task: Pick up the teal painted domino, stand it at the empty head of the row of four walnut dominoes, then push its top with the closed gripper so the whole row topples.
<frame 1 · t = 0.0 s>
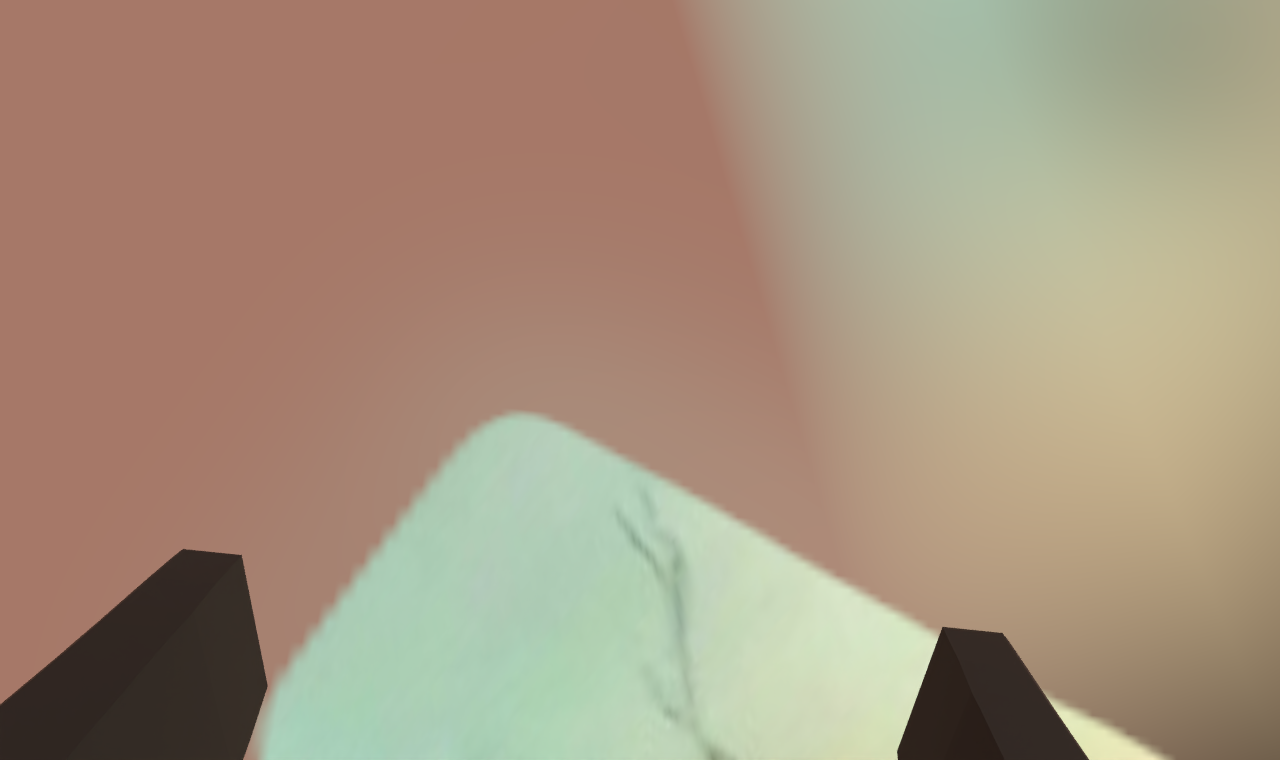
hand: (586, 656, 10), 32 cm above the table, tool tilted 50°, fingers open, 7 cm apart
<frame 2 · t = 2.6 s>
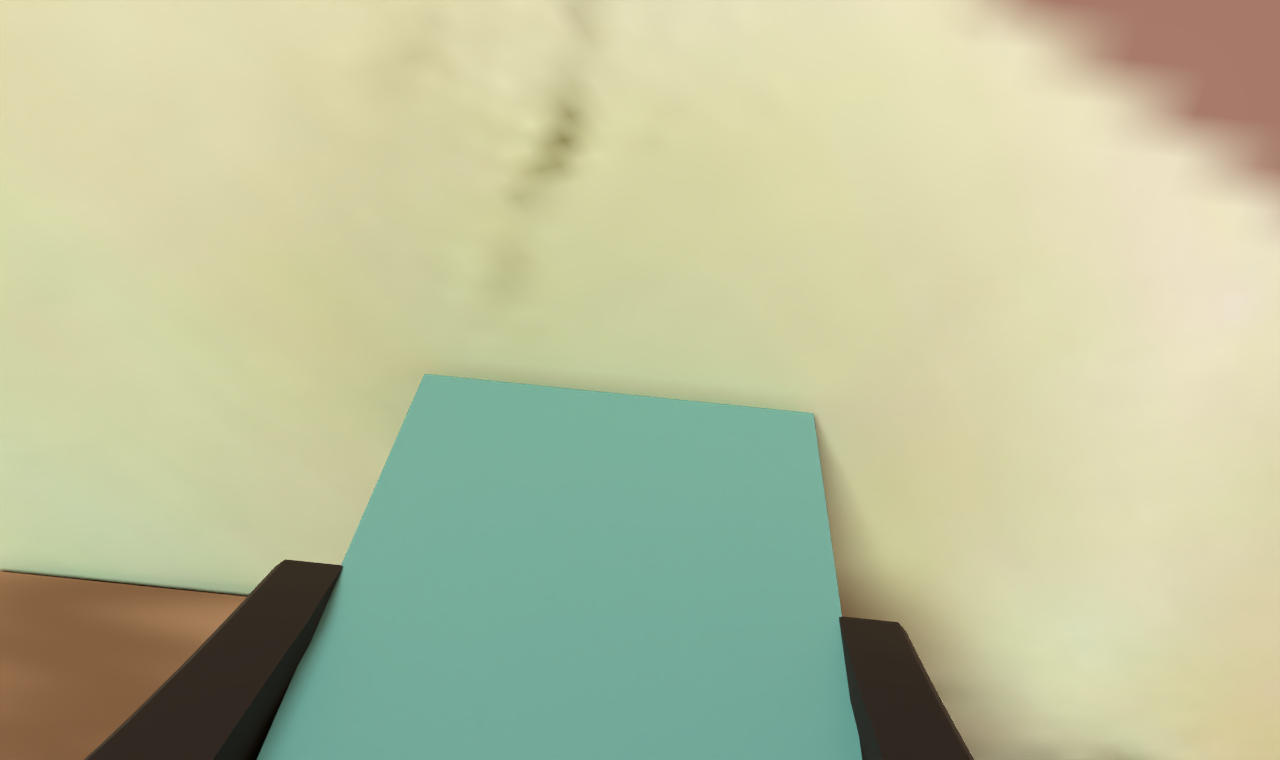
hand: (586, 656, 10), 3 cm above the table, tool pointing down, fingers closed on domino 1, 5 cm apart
domino 1: (613, 454, 13), on the table, touching gripper
domino 2: (158, 630, 16), on the table
when the fingers open (4 cm above the table, at t = 6.4 s): domino 1 stays where it is, on the table.
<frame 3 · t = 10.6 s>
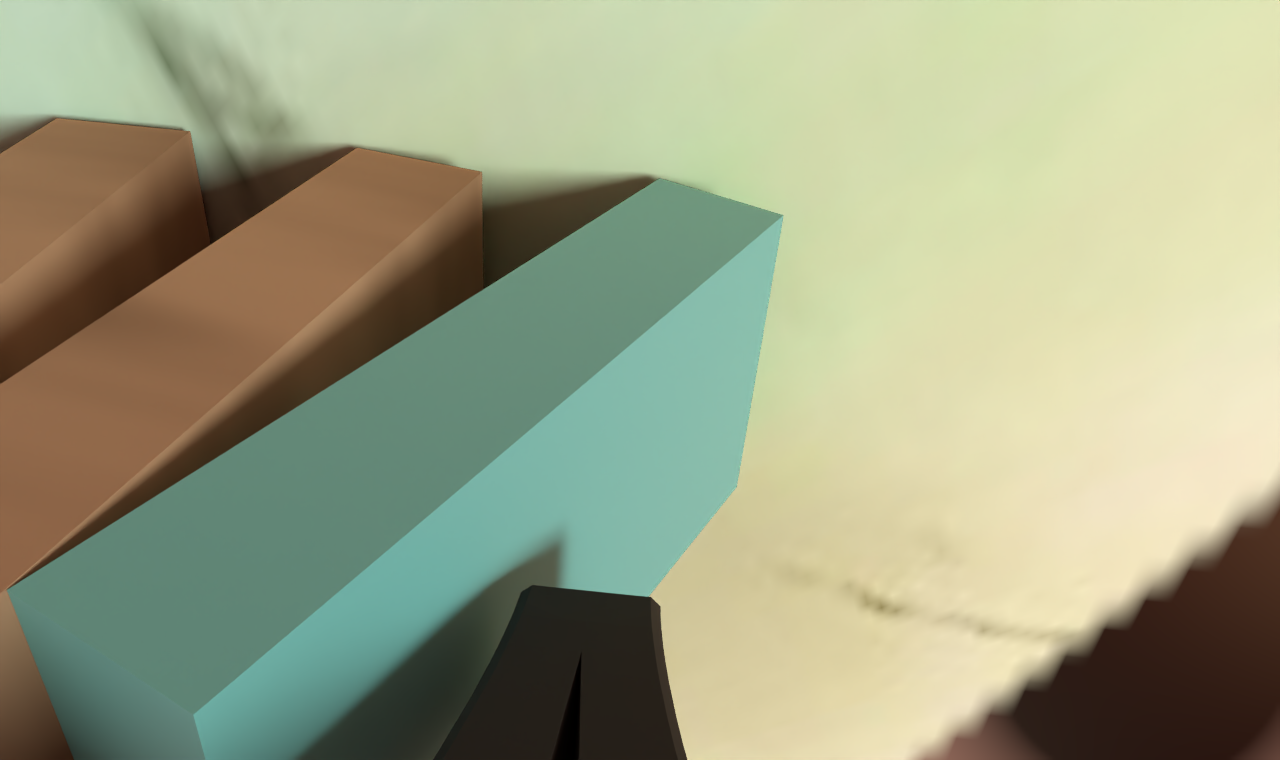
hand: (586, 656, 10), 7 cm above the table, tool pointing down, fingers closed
domino 1: (700, 342, 16), on the table, tilted 27°
domino 2: (426, 307, 16), on the table, tilted 13°
domino 3: (156, 273, 16), on the table
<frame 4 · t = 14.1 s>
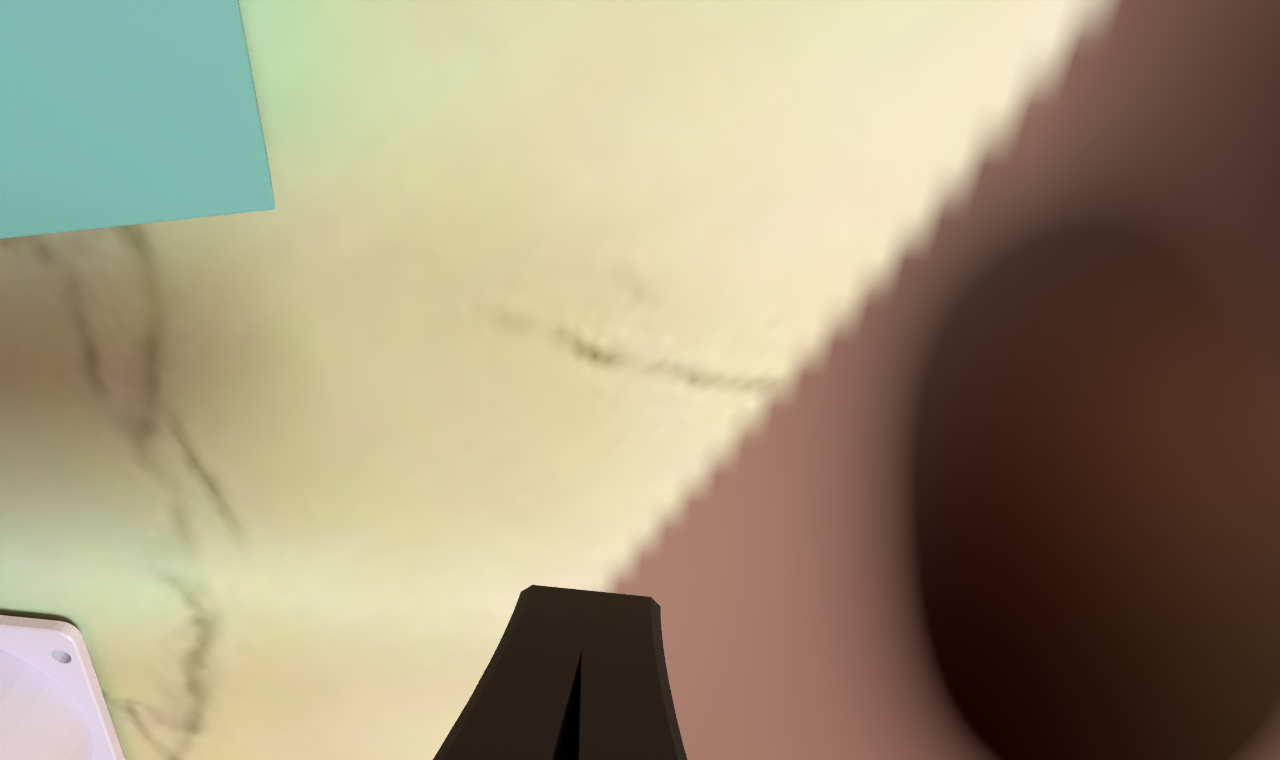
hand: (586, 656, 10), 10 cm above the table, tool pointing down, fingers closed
domino 1: (246, 47, 17), point 1 cm above the table, tilted 66°, touching domino 2
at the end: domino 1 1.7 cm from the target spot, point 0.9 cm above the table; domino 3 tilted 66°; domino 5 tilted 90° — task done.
